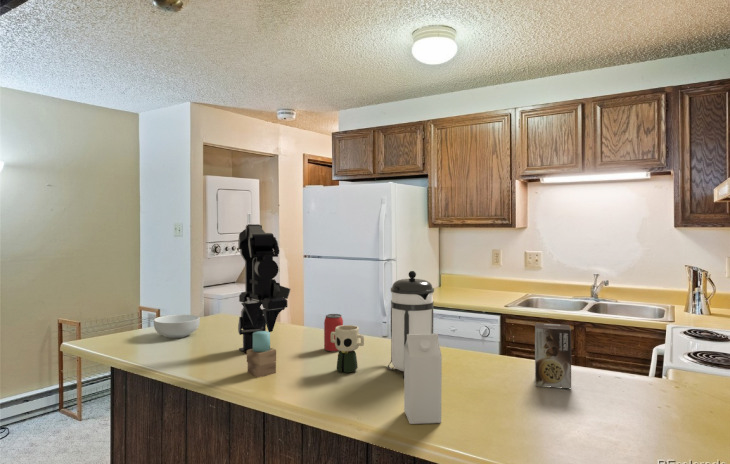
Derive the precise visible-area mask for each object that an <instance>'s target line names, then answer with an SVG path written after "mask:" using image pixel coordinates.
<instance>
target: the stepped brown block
mask: <svg viewBox="0 0 730 464" xmlns="http://www.w3.org/2000/svg"><path fill="white" fill-rule="evenodd" d="M272 362H277V349H276V348H271V347H270V350H269V351H267V352H254V351H253V349H250V350H247V353H246V363H247V364H248V363H251V364H255V365H258V366H262V365H265V364H268V363H272Z"/></svg>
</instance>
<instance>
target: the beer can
mask: <svg viewBox="0 0 730 464" xmlns="http://www.w3.org/2000/svg"><path fill="white" fill-rule="evenodd" d="M342 325H344V320H343V317H342V314H340V313H339V314H338V313H328V314H325V318H324V322H323V326H324V327H323V331H324V332H323V339H324V340H323V342H324V343H323V344H324V346H323V348H324V350H325V351H326V352H329V353H330V352H331V353H332V352H333V353H336V352H339V351H340V350H338V349H337V348H336V346H335V343H332V342H331V332H335V328H336V327H337V326H342ZM334 340H335V335H334Z"/></svg>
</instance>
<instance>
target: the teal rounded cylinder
mask: <svg viewBox="0 0 730 464" xmlns="http://www.w3.org/2000/svg"><path fill="white" fill-rule="evenodd" d="M270 348H271V332H269V331H268V330H266V331H257V332H254V333H253V351H254V352H267V351H269V350H270Z"/></svg>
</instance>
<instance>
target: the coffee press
mask: <svg viewBox="0 0 730 464" xmlns="http://www.w3.org/2000/svg"><path fill="white" fill-rule="evenodd" d="M407 274H408V277H409V278H402V279H398V280H396V281H394V282H393V284H392V286H391V287H390V292H391V300H390V337H391V340H390V341H391V344H390V345H391V347H390V348H391V349H390V350H391V351H390V352H391V354H390V356H391V357H390V358H391V360H390V362H389V364H388V365H387V369H388V370H390V371H391V370H393V369H394V368H395V369H396V370H398V371H401V372H404V347H405V344H406V341H407V334H434V300H433V299H434V298H433V296H434V293H435V288H433V285H432V283H431V282H430V281H428V280H425V279H422V278H421V279H420V278H416V276H417V273H416V272H415V270H414V271H413V270H410V271H409V272H408V273H407ZM391 364H392V366H393V367H390V365H391ZM402 379H403V380H404V373H403V374H402Z"/></svg>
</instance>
